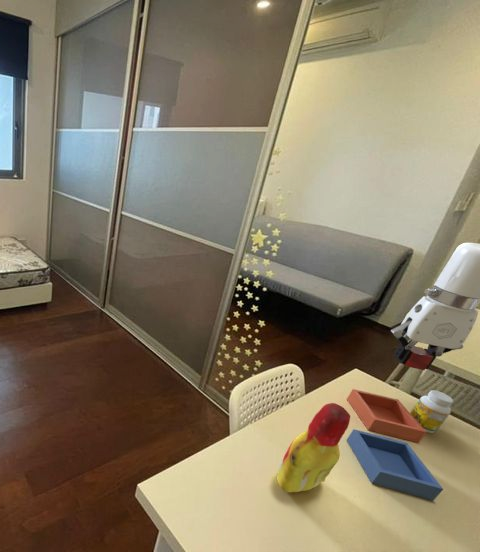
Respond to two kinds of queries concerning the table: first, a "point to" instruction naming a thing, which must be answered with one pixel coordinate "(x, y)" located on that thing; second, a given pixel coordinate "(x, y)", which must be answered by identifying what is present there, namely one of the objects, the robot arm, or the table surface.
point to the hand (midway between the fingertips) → (410, 362)
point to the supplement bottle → (432, 410)
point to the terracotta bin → (385, 416)
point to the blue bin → (393, 465)
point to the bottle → (314, 450)
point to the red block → (418, 358)
